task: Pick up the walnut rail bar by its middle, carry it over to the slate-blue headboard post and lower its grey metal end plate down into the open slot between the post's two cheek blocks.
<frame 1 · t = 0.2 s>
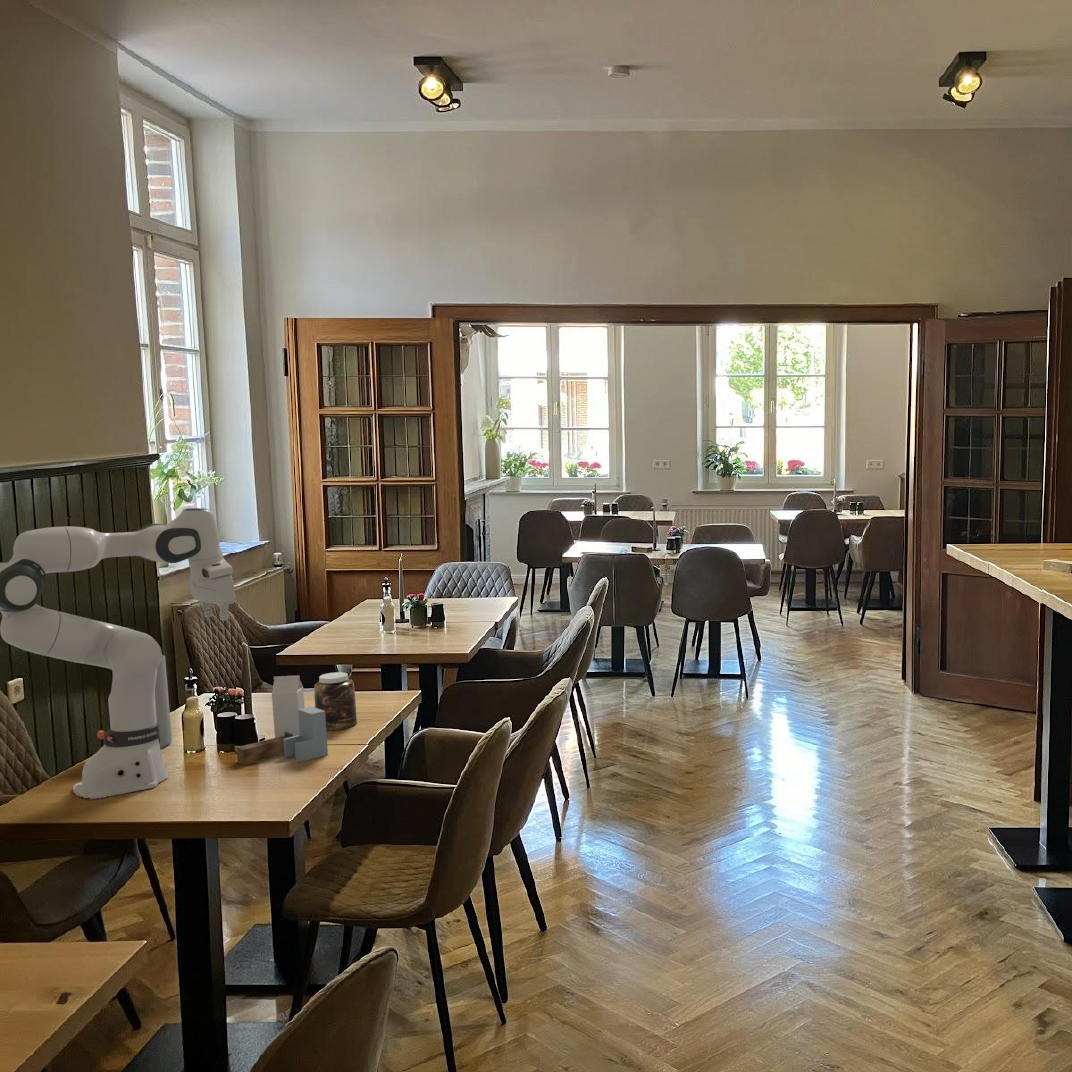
hand: (216, 618, 284), 38 cm above the table, tool pointing down, fingers open, 8 cm apart
jar: (336, 725, 316), on the table
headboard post: (307, 755, 287), on the table
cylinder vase: (149, 746, 304), on the table
milk carton: (291, 743, 300), on the table
rail: (265, 757, 288), on the table
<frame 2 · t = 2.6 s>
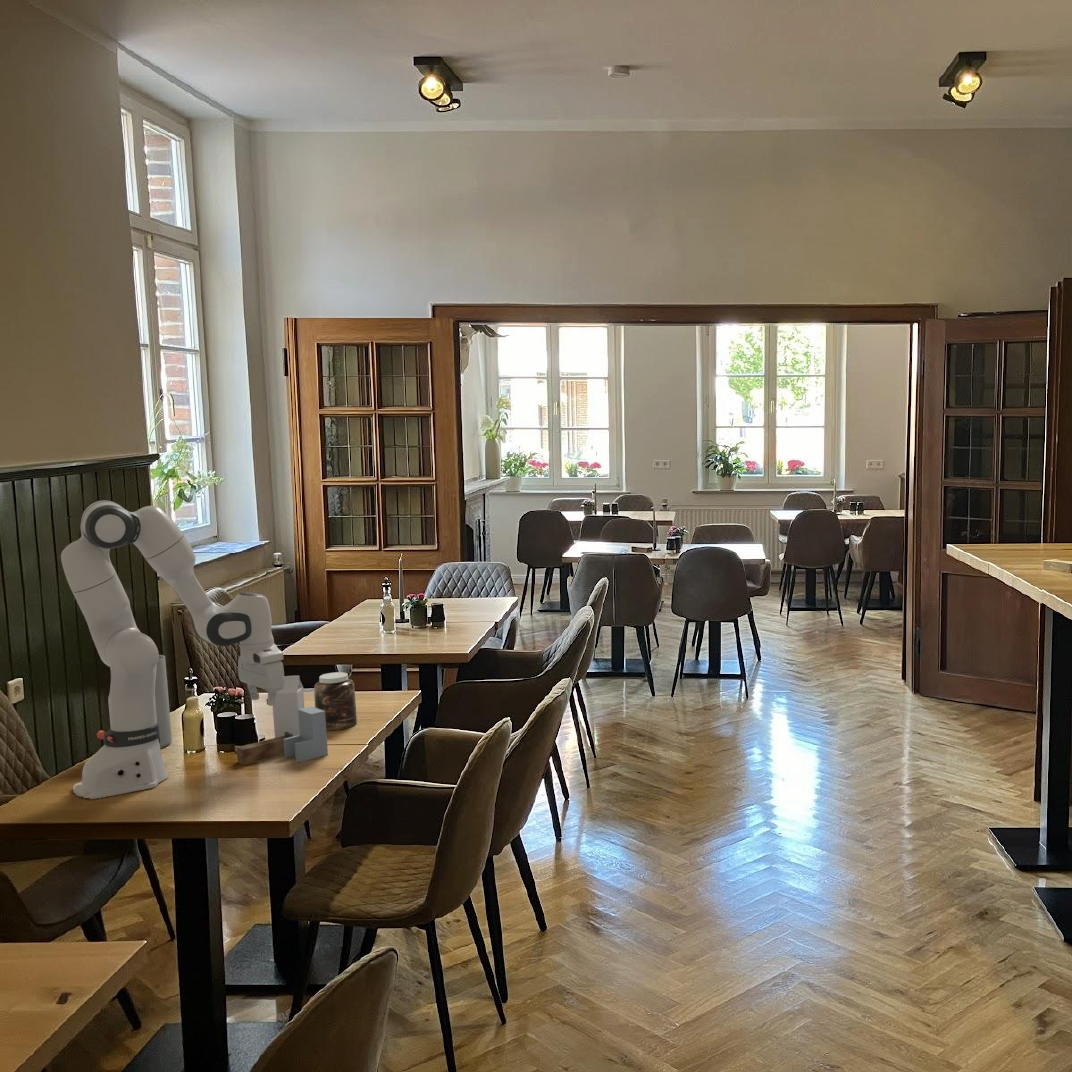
hand: (263, 702, 286), 15 cm above the table, tool pointing down, fingers open, 8 cm apart
nothing on the table moved.
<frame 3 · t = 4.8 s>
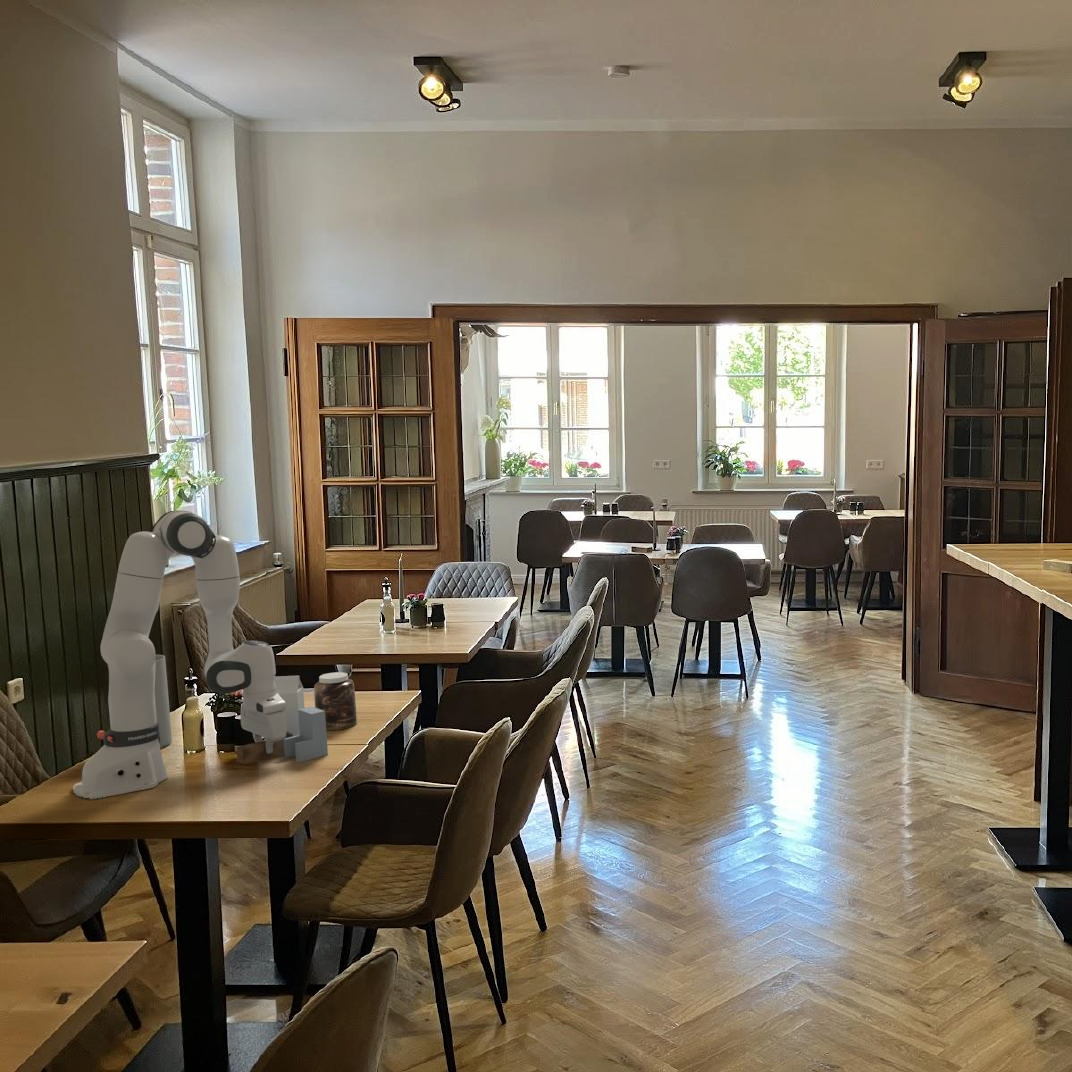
hand: (264, 750, 287), 2 cm above the table, tool pointing down, fingers closed on rail, 4 cm apart
rail: (265, 756, 288), on the table, touching gripper
everything else where it was.
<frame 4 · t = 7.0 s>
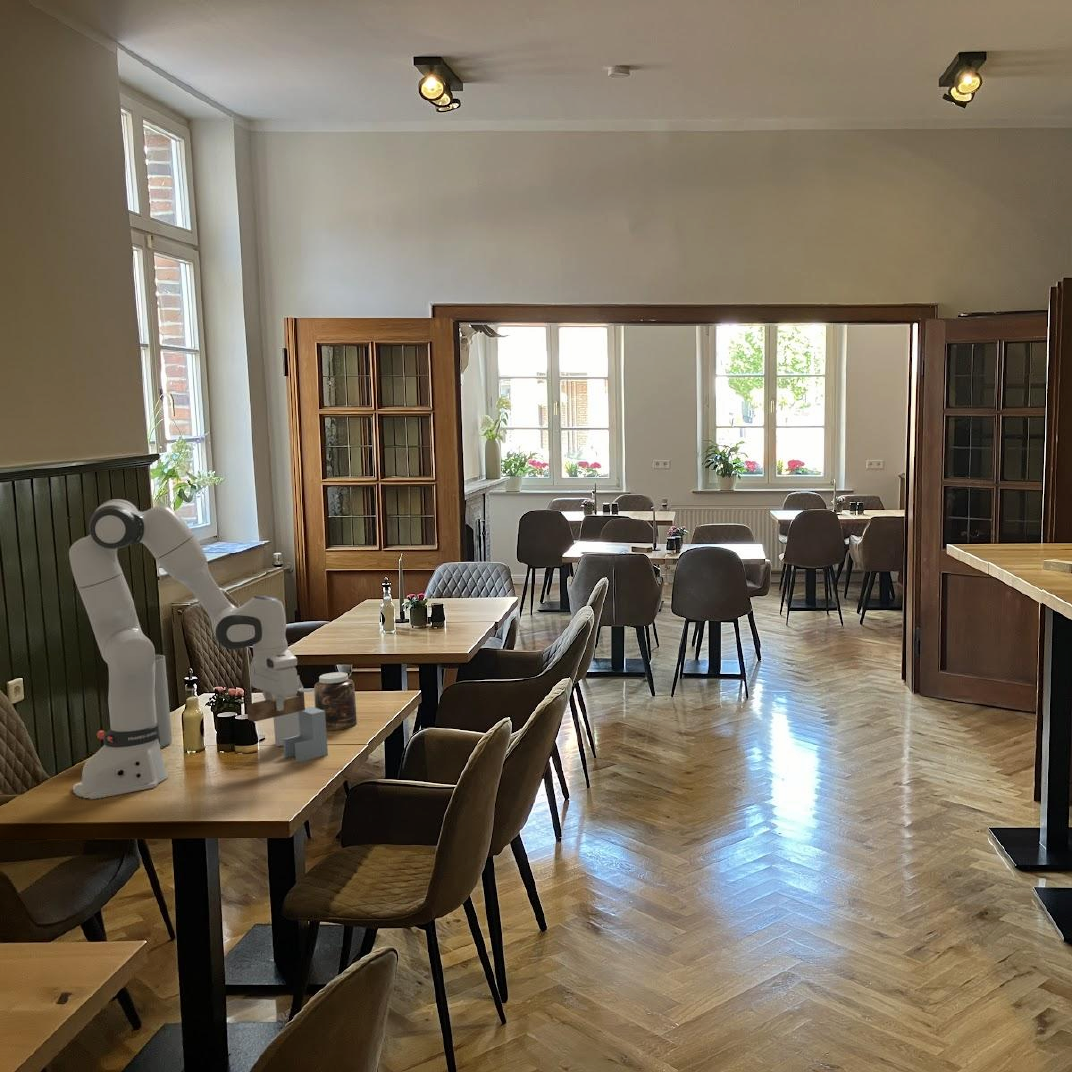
hand: (275, 708, 280), 15 cm above the table, tool pointing down, fingers closed on rail, 4 cm apart
rail: (275, 714, 280), point 13 cm above the table, touching gripper
everything else where it was.
when the fingers open (3 cm above the table, at t = 9.4 s): rail stays where it is, on the table.
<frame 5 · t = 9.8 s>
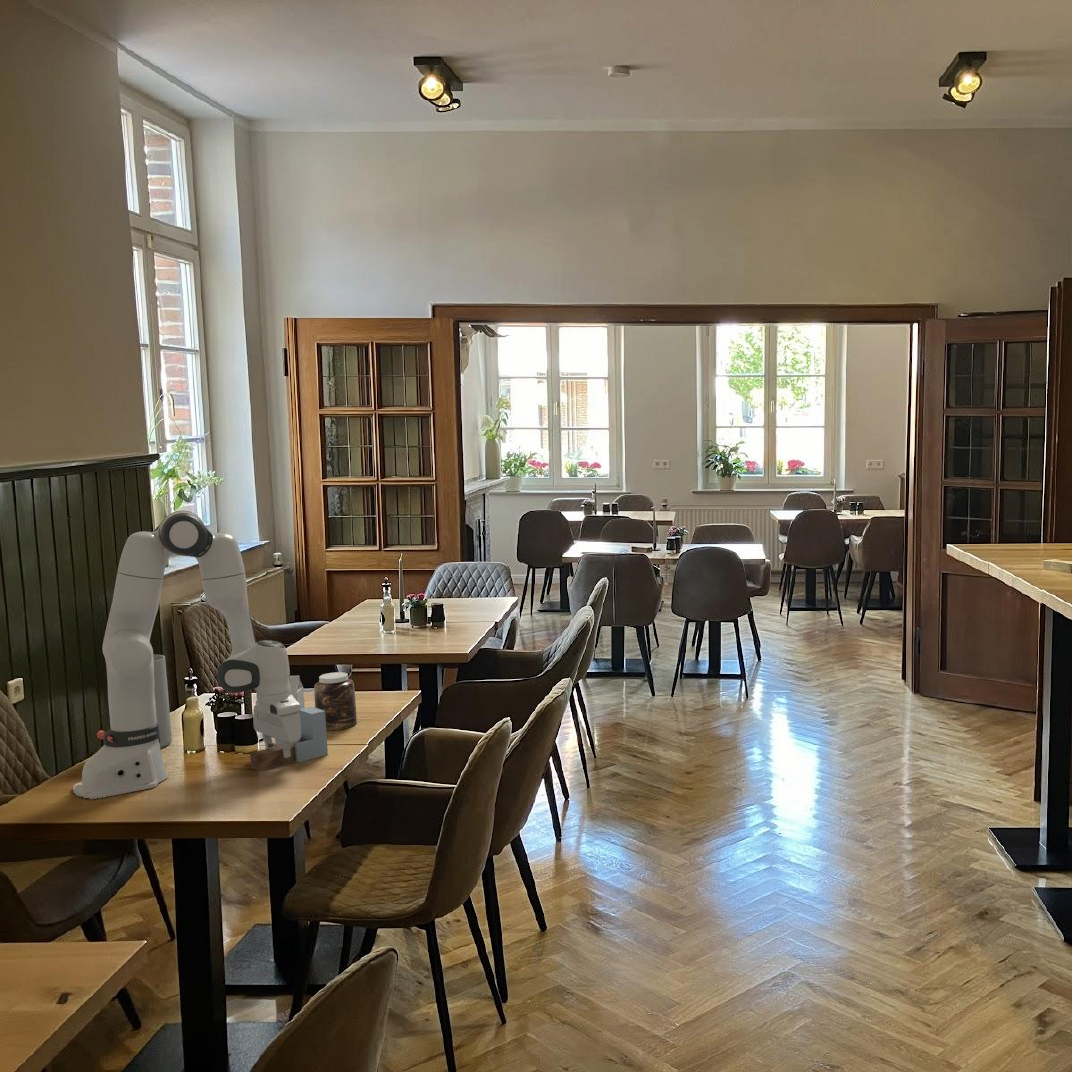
hand: (278, 753, 281), 3 cm above the table, tool pointing down, fingers open, 8 cm apart
rail: (278, 763, 282), on the table
everything else where it was.
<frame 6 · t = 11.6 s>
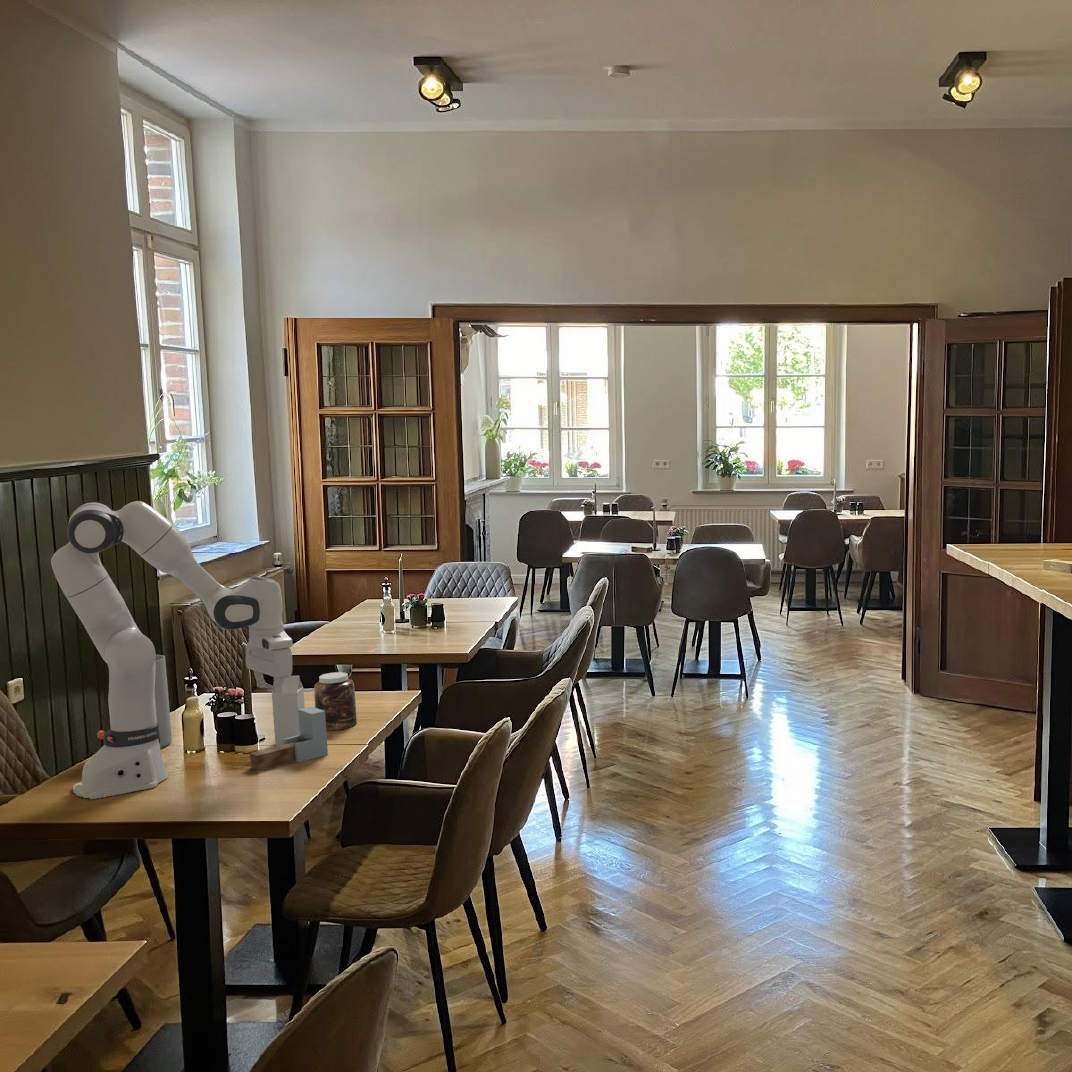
hand: (269, 690, 281), 19 cm above the table, tool pointing down, fingers open, 8 cm apart
nothing on the table moved.
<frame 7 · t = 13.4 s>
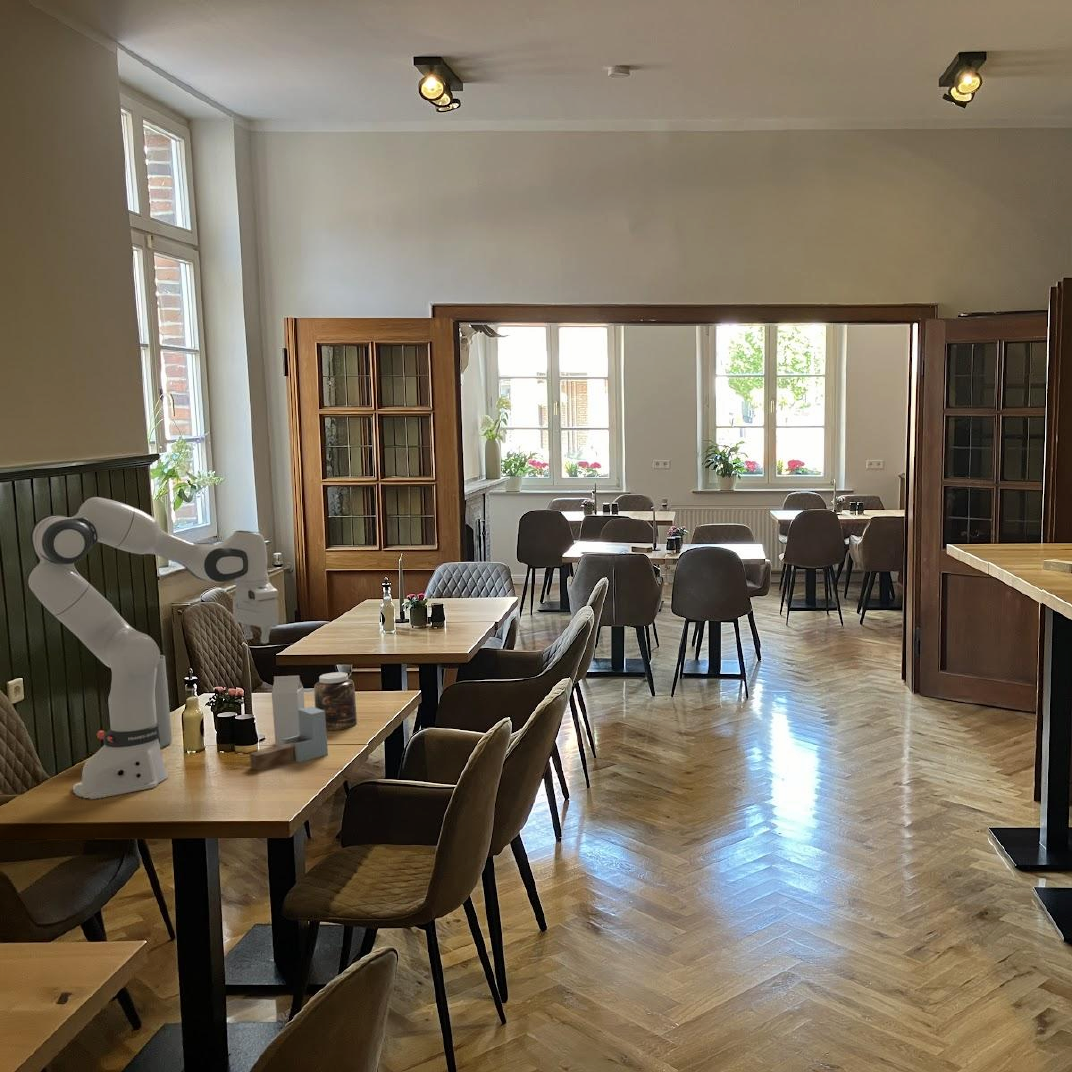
hand: (256, 641, 288), 31 cm above the table, tool pointing down, fingers open, 8 cm apart
nothing on the table moved.
at the end: rail 0.1 cm from the target spot on the table beside the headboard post, on the table; rail tilted 0°; the gripper is holding nothing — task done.
